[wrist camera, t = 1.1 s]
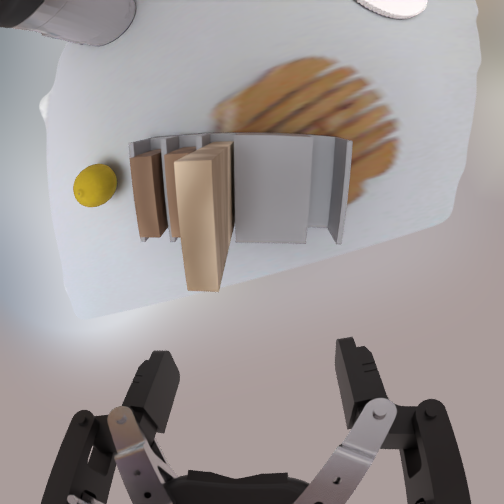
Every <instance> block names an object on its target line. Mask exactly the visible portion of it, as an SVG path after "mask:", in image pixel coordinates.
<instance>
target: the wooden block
mask: <svg viewBox="0 0 504 504" xmlns="http://www.w3.org/2000/svg"><path fill="white" fill-rule="evenodd" d="M174 170H175V184H176V196H177V207H178V217H179V227H180V236H181V244H182V253H183V260H184V268H185V275H186V282H187V289H188V291H210V292H219V289H220V284H221V280H222V275H223V271H224V267H225V262H226V258H227V254H228V249H229V245H230V241H231V237H232V232H233V228H234V224H235V185H234V141H220V142H212V143H210V144H208V145H206V146H204V147H202V148H200V149H198V150H196V151H194V152H192V153H190V154H188V155H186V156H184V157H182V158H180V159H178V160H177V161H175V162H174Z"/></svg>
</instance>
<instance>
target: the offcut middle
mask: <svg viewBox="0 0 504 504" xmlns="http://www.w3.org/2000/svg"><path fill="white" fill-rule="evenodd" d="M194 151H196V147H182V148H180V149H177V150H175V151H172V152H170V153H167V154H165V155H164V162H165V176H166V188H167V198H168V208H169V217H170V226H171V234H172V237H181V236H180V227H179V217H178V207H177V196H176V184H175V170H174V162H175V161H177V160H178V159H180V158H182V157H184V156H186V155H188V154H190V153H192V152H194Z"/></svg>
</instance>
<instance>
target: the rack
mask: <svg viewBox="0 0 504 504" xmlns="http://www.w3.org/2000/svg"><path fill="white" fill-rule="evenodd" d="M220 141H234V185H235V224H234V226H235V233H236V243H296V244H306V236H307V227H314V228H328V230H329V231H330V233H331V235H332V237H333V239H334V241H335V242H336V244H342V237H343V230H344V223H345V215H346V207H347V199H348V190H349V180H350V169H351V157H352V143H353V141H350V140H347V139H343V138H339V137H334V136H323V135H309V134H292V133H259V132H240V133H206V134H189V135H176V136H165V137H155V138H148V139H144V140H140V141H136V142H132V143H129V154H130V158H132V157H134V156H137V155H140V154H143V153H145V152H148V151H151V150H155V149H161V154H162V168H163V181H164V192H165V202H166V211H167V220H168V228H169V236H170V242H175V241H176V240H177V238H178V237H172V234H171V226H170V217H169V208H168V198H167V188H166V176H165V162H164V155H165V154H167V153H170V152H172V151H175V150H177V149H180V148H182V147H196V150H198V149H200V148H202V147H204V146H206V145H208V144H210V143H212V142H220ZM148 238H149V237H140V239H141V242H146V240H147V239H148Z"/></svg>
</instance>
